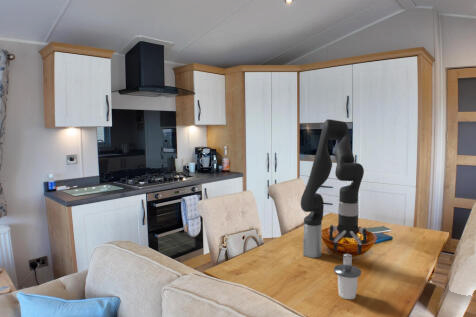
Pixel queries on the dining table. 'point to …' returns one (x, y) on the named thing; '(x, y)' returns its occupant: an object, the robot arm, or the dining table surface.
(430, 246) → the dining table surface
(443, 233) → the dining table surface
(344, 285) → the white cup
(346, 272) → the lid
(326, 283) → the dining table surface
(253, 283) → the dining table surface
